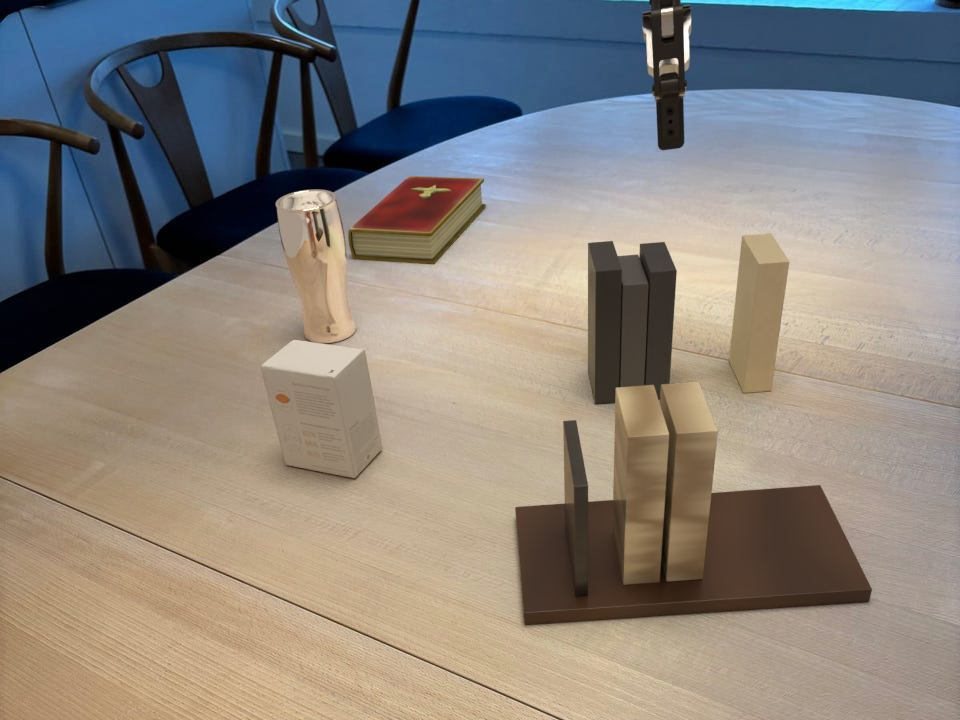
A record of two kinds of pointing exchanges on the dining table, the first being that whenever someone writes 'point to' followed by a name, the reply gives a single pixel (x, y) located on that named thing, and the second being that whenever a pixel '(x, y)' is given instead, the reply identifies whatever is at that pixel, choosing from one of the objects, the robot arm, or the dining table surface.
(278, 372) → the small box
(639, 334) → the grey books
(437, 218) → the hardcover book
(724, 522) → the shelf
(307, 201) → the beer glass
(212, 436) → the dining table surface
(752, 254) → the cream book
